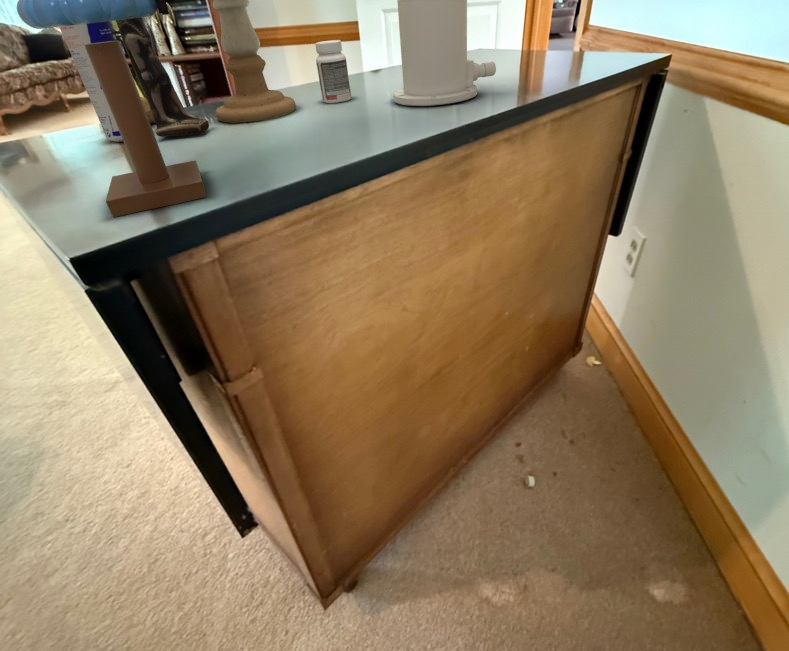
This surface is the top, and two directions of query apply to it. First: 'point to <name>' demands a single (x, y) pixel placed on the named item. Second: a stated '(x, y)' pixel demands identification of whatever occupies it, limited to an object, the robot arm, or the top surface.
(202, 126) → the statue
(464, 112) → the top surface
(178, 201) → the brown upside-down t-shape
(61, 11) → the ring
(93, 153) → the top surface
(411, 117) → the top surface
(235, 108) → the candle holder
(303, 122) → the top surface
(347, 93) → the pill bottle
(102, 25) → the white blue box
